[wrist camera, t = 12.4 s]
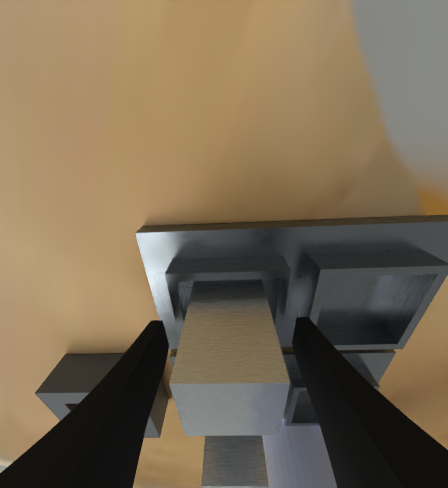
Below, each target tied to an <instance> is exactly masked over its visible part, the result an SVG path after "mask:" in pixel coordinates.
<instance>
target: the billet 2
mask: <svg viewBox="0 0 448 488" xmlns="http://www.w3.org/2000/svg"><path fill="white" fill-rule="evenodd" d="M202 488H269V484H268V476H267V468H266V460H265V452H264V445H263V437H262V435H239V436H205V445H204V459H203V473H202Z"/></svg>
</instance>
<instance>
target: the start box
mask: <svg viewBox="0 0 448 488" xmlns="http://www.w3.org/2000/svg"><path fill="white" fill-rule="evenodd" d="M123 355H124V354H74V355H64V357H63V358H62V359H61V360H60V362H59V363H58V364H57V366H56V367H55V368H54V369H53V371H52V372H51V373H50V375H49V376H48V377H47V378H46V380H45V381H44V382H43V383H42V385H41V386H40V387H39V389H38V390H37V391H36V392H35V394H36V395H37V396H38V397H39V398H40V399H41V400H42V402H43V403H44V404H45V405H46V406H47V407H48V408H49V409H50V410H51V411H52V412H53V413H54V414H55V415H56V416H57V418H58V419H59V420H60V421H61V420H62V419H63V418H64V417H65V416H66V415H67V414H68V413H69V412H70V411H71V410H72V409H73V408H75V407H76V406H77V405H78V404H79V403H80V402H81V401H82V400H83V399H84V398H85V397H86V396H87V395H88V394H89V393H90V392H91V390H92V389H93V388H94V387H95V386H96V385H97V384H98V383H99V382H100V381H101V380H102V379H103V378H104V377H105V375H106V374H107V373H108V372H109V371H110V370H111V369H112V368H113V367H114V365H115V364H116V363H117V362H118V361H119V360H120V359H121V357H122V356H123ZM168 400H169V399H168V396H167V394H166V391H165V388H164V385H163V382H162V379H161V381H160V384H159V387H158V390H157V393H156V397H155V400H154V403H153V406H152V409H151V412H150V416H149V419H148V423H147V426H146V430H145V434H144V438H160V434H161V430H162V426H163V421H164V417H165V413H166V408H167V404H168Z"/></svg>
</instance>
